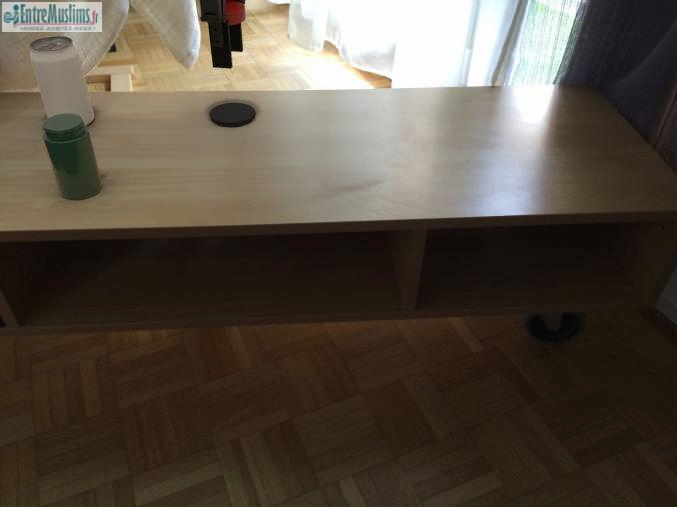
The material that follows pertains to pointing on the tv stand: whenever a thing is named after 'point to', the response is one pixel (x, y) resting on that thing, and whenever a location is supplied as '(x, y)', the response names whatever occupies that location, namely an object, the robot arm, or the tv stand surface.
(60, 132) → the jar
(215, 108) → the coaster
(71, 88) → the can
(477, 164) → the tv stand surface
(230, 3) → the jar lid
